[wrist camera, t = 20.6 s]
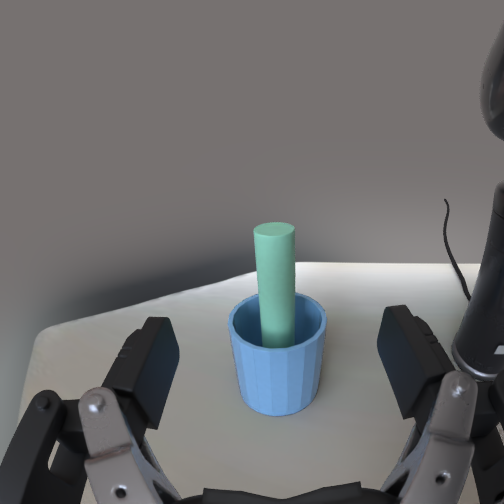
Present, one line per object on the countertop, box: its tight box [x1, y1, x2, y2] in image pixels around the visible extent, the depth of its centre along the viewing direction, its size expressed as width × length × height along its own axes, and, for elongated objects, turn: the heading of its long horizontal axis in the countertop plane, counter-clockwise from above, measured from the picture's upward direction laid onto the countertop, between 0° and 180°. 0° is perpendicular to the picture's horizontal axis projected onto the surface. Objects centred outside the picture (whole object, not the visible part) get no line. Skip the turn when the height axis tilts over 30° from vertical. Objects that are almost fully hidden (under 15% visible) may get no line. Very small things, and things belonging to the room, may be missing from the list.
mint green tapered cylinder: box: [254, 222, 295, 349], centre depth 22 cm, size 3×3×16 cm
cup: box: [228, 292, 327, 416], centre depth 24 cm, size 8×8×9 cm
